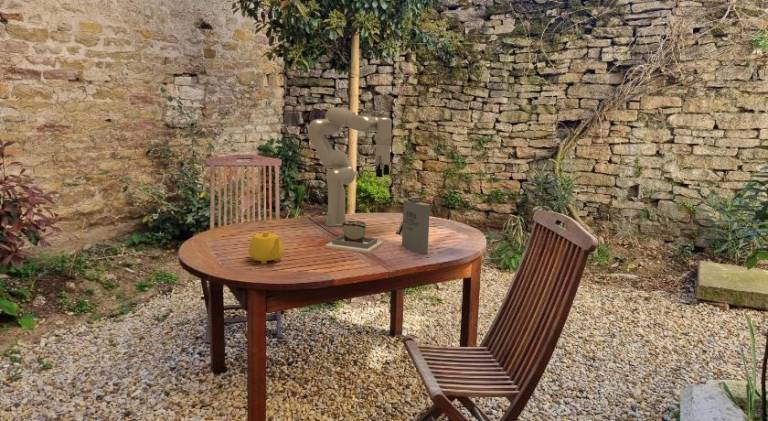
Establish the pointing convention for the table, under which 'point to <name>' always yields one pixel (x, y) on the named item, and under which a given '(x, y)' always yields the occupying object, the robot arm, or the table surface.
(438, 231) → the table surface
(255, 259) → the teapot
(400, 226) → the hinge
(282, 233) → the table surface
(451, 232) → the table surface
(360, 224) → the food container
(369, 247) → the board
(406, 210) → the grey upright block
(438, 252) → the table surface
